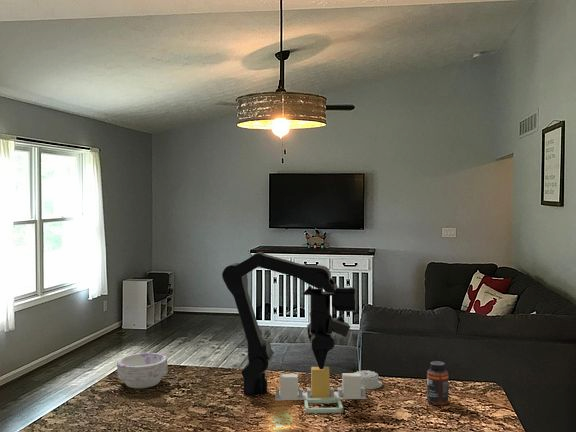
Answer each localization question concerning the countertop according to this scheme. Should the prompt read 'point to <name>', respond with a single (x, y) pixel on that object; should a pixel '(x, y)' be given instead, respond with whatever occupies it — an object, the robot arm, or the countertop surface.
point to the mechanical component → (369, 379)
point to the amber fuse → (320, 382)
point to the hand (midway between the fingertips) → (319, 364)
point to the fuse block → (308, 395)
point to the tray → (324, 410)
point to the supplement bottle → (437, 384)
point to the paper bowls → (142, 369)
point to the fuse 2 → (351, 385)
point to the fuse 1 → (288, 385)
